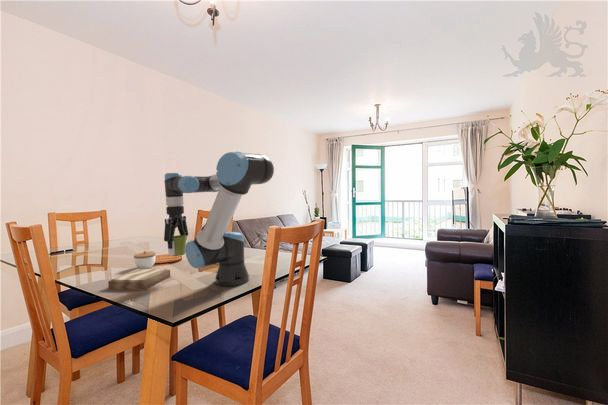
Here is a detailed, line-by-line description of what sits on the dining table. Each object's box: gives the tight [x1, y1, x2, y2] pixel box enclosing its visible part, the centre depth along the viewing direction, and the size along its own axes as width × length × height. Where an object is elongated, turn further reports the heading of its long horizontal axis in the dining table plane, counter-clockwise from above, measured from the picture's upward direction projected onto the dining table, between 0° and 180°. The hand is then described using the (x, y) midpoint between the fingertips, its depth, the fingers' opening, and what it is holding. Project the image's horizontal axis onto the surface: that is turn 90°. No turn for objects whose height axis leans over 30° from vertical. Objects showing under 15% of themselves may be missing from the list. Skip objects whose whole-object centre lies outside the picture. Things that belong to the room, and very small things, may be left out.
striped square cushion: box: [107, 268, 171, 291], centre depth 134 cm, size 18×18×4 cm
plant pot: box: [171, 234, 189, 257], centre depth 136 cm, size 9×9×9 cm
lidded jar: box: [133, 250, 157, 269], centre depth 159 cm, size 11×11×9 cm
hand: (177, 252), depth 136 cm, fingers closed on plant pot, 9 cm apart
